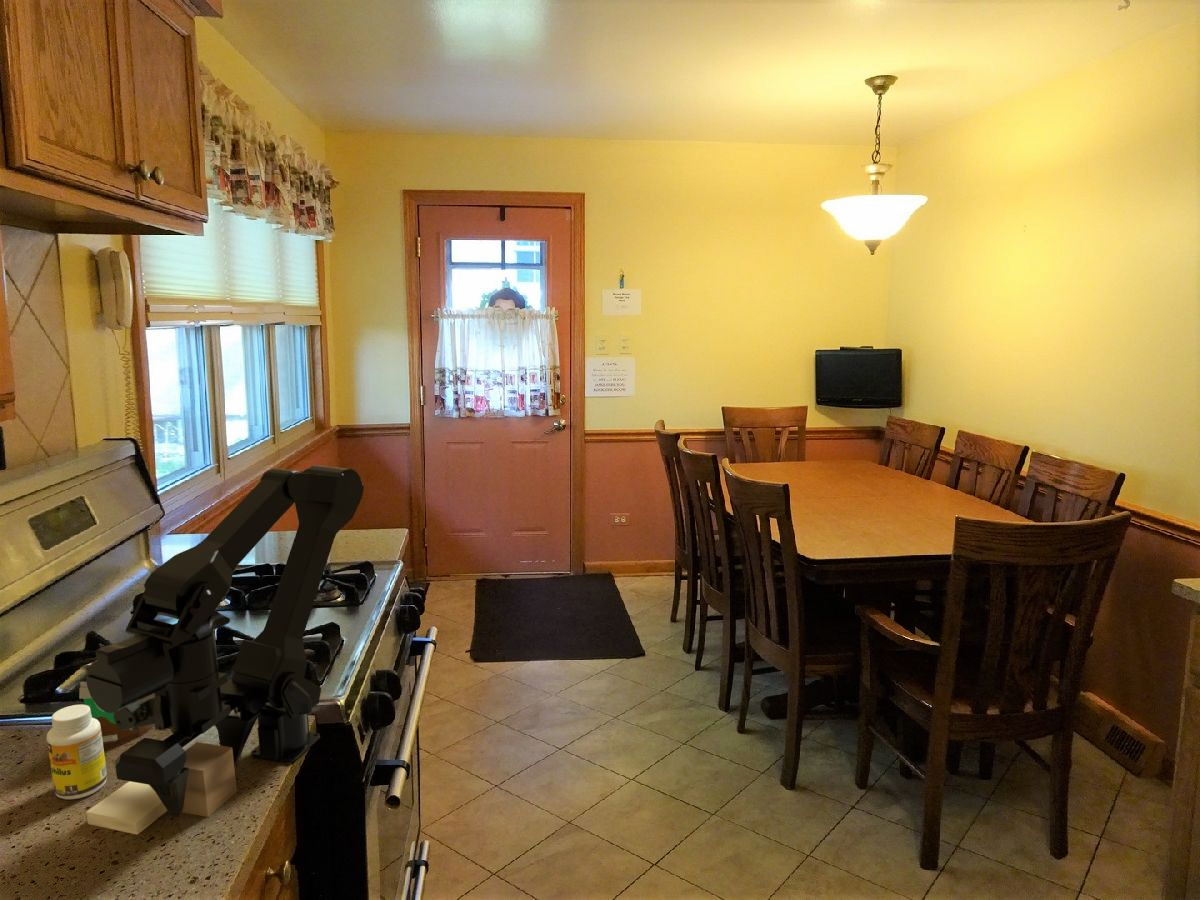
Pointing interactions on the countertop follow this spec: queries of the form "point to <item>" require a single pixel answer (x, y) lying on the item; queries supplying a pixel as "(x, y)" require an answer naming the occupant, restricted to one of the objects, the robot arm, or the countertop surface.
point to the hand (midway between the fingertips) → (204, 792)
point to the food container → (109, 722)
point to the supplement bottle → (76, 753)
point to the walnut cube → (208, 778)
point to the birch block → (128, 809)
